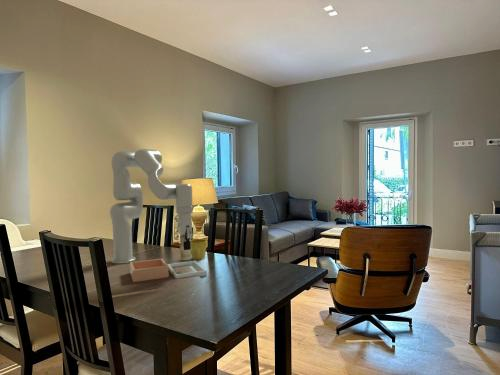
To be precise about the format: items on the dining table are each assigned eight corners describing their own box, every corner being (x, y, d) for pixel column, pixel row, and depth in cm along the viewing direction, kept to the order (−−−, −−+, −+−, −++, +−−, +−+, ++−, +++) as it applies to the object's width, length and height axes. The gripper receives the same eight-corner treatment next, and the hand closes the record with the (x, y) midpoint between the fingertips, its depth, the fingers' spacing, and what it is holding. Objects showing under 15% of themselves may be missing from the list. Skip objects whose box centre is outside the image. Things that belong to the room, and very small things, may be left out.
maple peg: (179, 258, 164) (178, 232, 164) (190, 256, 166) (189, 232, 166) (182, 260, 160) (181, 234, 159) (192, 259, 162) (191, 233, 161)
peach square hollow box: (130, 275, 161) (129, 262, 161) (162, 270, 167) (162, 258, 167) (133, 284, 148) (132, 270, 147) (168, 279, 154) (168, 265, 153)
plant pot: (185, 259, 188) (184, 241, 188) (196, 255, 198) (196, 238, 197) (200, 261, 184) (200, 243, 183) (211, 257, 193) (211, 239, 192)
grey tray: (167, 269, 170) (167, 264, 170) (195, 265, 176) (195, 260, 175) (175, 280, 152) (175, 275, 151) (206, 276, 157) (206, 270, 157)
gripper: (172, 209, 168) (174, 246, 169) (180, 212, 153) (181, 253, 154) (188, 208, 172) (189, 244, 172) (197, 211, 156) (198, 251, 157)
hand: (185, 248), depth 163 cm, fingers closed on maple peg, 5 cm apart
